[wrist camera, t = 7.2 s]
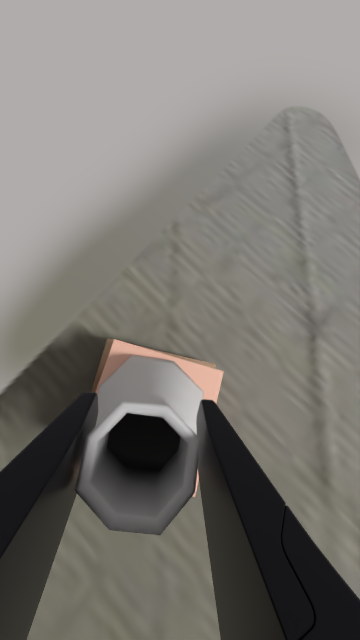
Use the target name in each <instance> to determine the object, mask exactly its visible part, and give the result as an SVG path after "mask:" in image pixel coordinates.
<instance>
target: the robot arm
mask: <svg viewBox="0 0 360 640" xmlns="http://www.w3.org/2000/svg"><path fill="white" fill-rule="evenodd" d="M97 417H98V395H97V393H96V392H83V393H82V394H81V395H80V396H79V397H78V398H76V399H75V400H74V401H73V402H72V403H71V404H70V405H69V406H68V407H67V408H66V409H65V410H64V411H63V412H62V413H61V414H60V415H59V416H58V417H57V418H56V419H55V420H54V421H53V422H52V423H50V424H49V425H48V426H47V427H46V428H45V429H44V430H43V431H42V432H41V433H40V434H39V435H38V436H37V437H36V438H35V439H34V440H33V441H32V442H31V443H30V444H29V445H28V446H27V447H26V448H25V449H23V450H22V451H21V452H20V453H19V454H18V455H17V456H16V457H15V458H14V459H13V460H12V461H11V462H10V463H9V464H8V465H7V466H6V467H5V468H4V469H3V470H2V471H1V472H0V640H26V639H27V636H28V634H29V631H30V628H31V625H32V622H33V619H34V616H35V613H36V610H37V607H38V604H39V602H40V599H41V596H42V593H43V590H44V587H45V584H46V581H47V578H48V575H49V573H50V570H51V567H52V564H53V561H54V558H55V555H56V552H57V549H58V546H59V543H60V541H61V538H62V535H63V532H64V529H65V526H66V523H67V520H68V517H69V514H70V512H71V509H72V506H73V503H74V500H75V497H76V494H77V492H76V491H75V488H76V483H77V478H78V473H79V469H80V464H81V459H82V455H83V450H84V445H85V441H86V436H87V435H88V434H89V433H90V432H91V431H92V430H93V429H94V428H95V426H96V421H97ZM196 428H197V436H198V437H199V438H200V440H201V443H200V452H199V461H198V475H199V483H200V490H201V497H202V505H203V512H204V519H205V527H206V534H207V541H208V549H209V556H210V563H211V571H212V578H213V585H214V592H215V600H216V607H217V614H218V622H219V629H220V636H221V640H360V599H359V598H358V597H357V596H356V594H355V593H354V592H353V591H352V589H351V588H350V587H349V586H348V585H347V583H346V582H345V581H344V580H343V578H342V577H341V576H340V575H339V574H338V572H337V571H336V570H335V568H334V567H333V566H332V565H331V563H330V562H329V561H328V560H327V558H326V557H325V556H324V555H323V553H322V552H321V551H320V549H319V548H318V547H317V546H316V544H315V543H314V542H313V540H312V539H311V538H310V536H309V535H308V533H307V532H306V531H305V529H304V528H303V527H302V525H301V524H300V523H299V521H298V520H297V518H296V517H295V515H294V514H293V513H292V511H291V510H290V508H289V507H288V506H285V505H286V503H285V501H284V500H283V499H282V497H281V496H280V494H279V493H278V491H277V490H276V489H275V487H274V486H273V484H272V483H271V481H270V480H269V479H268V477H267V476H266V474H265V473H264V471H263V470H262V469H261V467H260V466H259V464H258V463H257V462H256V460H255V459H254V457H253V456H252V454H251V453H250V452H249V450H248V449H247V447H246V446H245V444H244V443H243V442H242V440H241V439H240V437H239V436H238V434H237V433H236V432H235V430H234V429H233V427H232V426H231V425H230V423H229V422H228V420H227V419H226V417H225V416H224V415H223V413H222V412H221V410H220V409H219V407H218V406H217V405H216V403H215V402H214V401H213V400H207V399H202V400H201V401H200V404H199V409H198V413H197V418H196Z"/></svg>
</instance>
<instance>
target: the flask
mask: <svg viewBox="0 0 360 640" xmlns="http://www.w3.org/2000/svg"><path fill="white" fill-rule="evenodd" d="M203 394H204V391H203V390H202V389H201V388H200V387H199V386H198V385H197V384H196V383H195V382H194V381H193V380H192V379H191V378H190V377H189V376H188V375H187V374H186V373H185V372H184V371H183V370H182V369H181V368H180V367H179V366H178V365H177V363H176V362H175V361H171V360H164V359H158V358H151V357H144V356H137V355H132V356H130V357H129V358H128V359H127V360H126V361H125V362H124V363H123V364H122V365H121V366H120V367H119V368H118V369H117V370H116V371H115V372H114V373H113V374H111V375H110V376H109V377H108V378H107V379H106V380H105V381H104V382H103V383H102V384H101V385H100V386H99V391H98V417H97V421H96V426H95V428H94V429H93V430H92V431H91V432H90V433H89V434H88V435H87V436H86V441H85V445H84V450H83V455H82V459H81V464H80V469H79V473H78V478H77V483H76V488H75V491H76V492H77V494H78V495H79V496H80V497H81V498H82V499H83V500H84V502H85V503H86V504H87V505H88V506H89V507H90V509H91V510H92V511H93V512H94V513H95V514H96V515H97V517H98V518H99V519H100V520H101V521H102V522H103V523H104V525H105V526H106V527H107V528H108V529H109V530H115V531H125V532H135V533H145V534H155V535H161V533H162V532H163V531H164V530H165V529H166V527H167V526H168V525H169V524H170V522H171V521H172V520H173V519H174V518H175V516H176V515H177V514H178V513H179V511H180V510H181V509H182V508H183V507H184V505H185V504H186V503H187V502H188V501H189V499H190V498H191V497H192V496H193V494H194V493H195V488H196V479H197V470H198V461H199V452H200V443H201V440H200V438H199V437H198V436H197V428H196V418H197V413H198V409H199V404H200V401H201V400H202V399H203Z"/></svg>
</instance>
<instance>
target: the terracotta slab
mask: <svg viewBox="0 0 360 640" xmlns="http://www.w3.org/2000/svg"><path fill="white" fill-rule="evenodd" d="M132 355H137V356H144V357H151V358H158V359H164V360H171V361H175V362H176V363H177V365H178V366H179V367H180V368H181V369H182V370H183V371H184V372H185V373H186V374H187V375H188V376H189V377H190V378H191V379H192V380H193V381H194V382H195V383H196V384H197V385H198V386H199V387H200V388H201V389H202V390H203V391H204V394H203V399H207V400H213V401H214V402H215V403H216V402H217V398H218V394H219V389H220V385H221V381H222V376H223V371H220V370H217V369H213V368H210V367H207V366H203V365H200V364H196V363H193V362H190V361H186V360H183V359H180V358H176V357H173V356H169V355H166V354H163V353H159V352H156V351H153V350H149V349H146V348H143V347H139V346H136V345H132V344H129V343H126V342H122V341H119V340H116V339H114V342H113V344H112V347H111V350H110V353H109V356H108V358H107V361H106V364H105V367H104V370H103V372H102V375H101V378H100V381H99V384H98V386H97V389H96V393H97V395H98V391H99V386H100V385H101V384H102V383H103V382H104V381H105V380H106V379H107V378H108V377H109V376H110V375H111V374H113V373H114V372H115V371H116V370H117V369H118V368H119V367H120V366H121V365H122V364H123V363H124V362H125V361H126V360H127V359H128V358H129V357H130V356H132ZM198 481H199V475H198V470H197V479H196V488H195V493H194V494H193V496H192V497H195V494H196V490H197V485H198Z"/></svg>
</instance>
